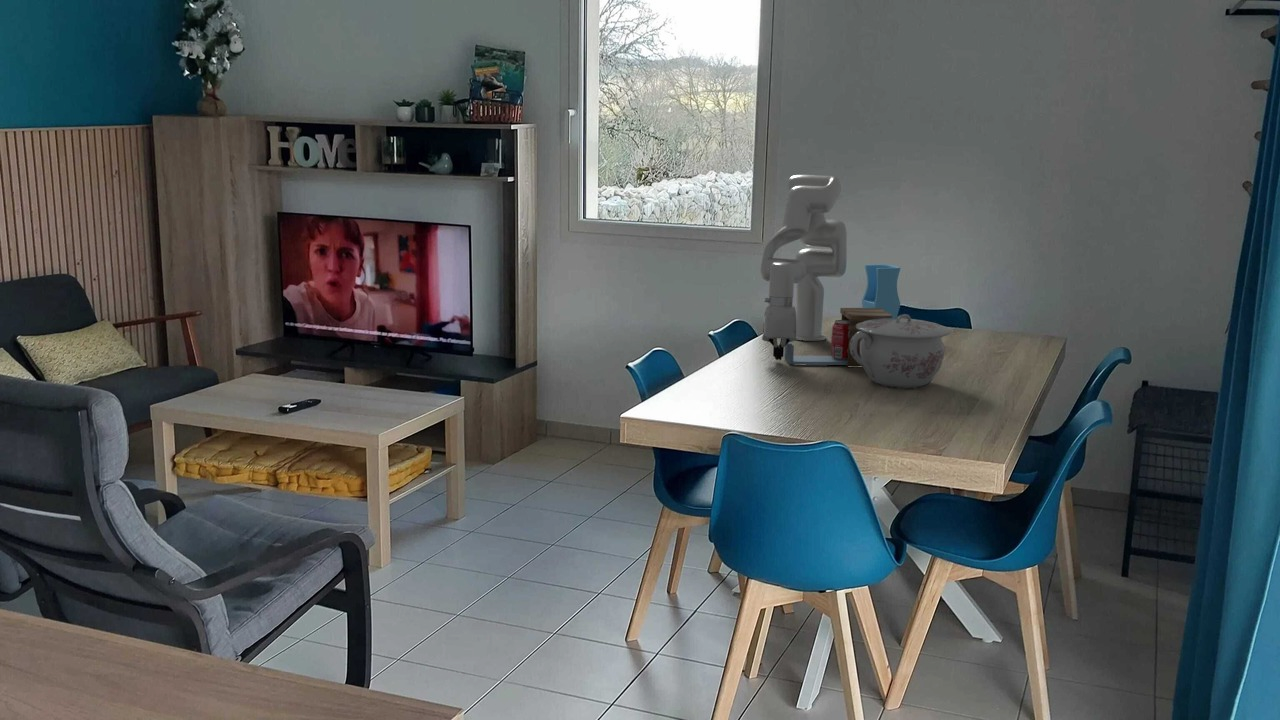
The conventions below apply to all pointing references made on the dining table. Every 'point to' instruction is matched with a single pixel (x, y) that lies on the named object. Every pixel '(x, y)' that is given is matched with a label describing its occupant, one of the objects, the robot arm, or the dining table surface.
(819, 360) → the blue-grey l-shaped bracket
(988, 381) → the dining table surface
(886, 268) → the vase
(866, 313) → the open wooden box
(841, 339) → the soda can
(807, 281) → the robot arm
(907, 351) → the chamber pot
